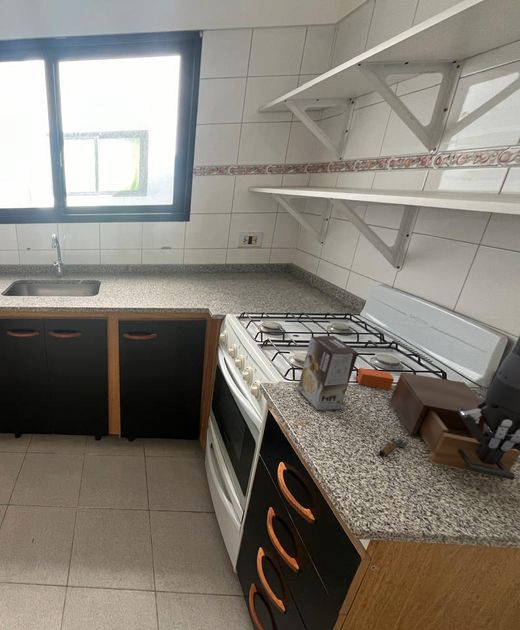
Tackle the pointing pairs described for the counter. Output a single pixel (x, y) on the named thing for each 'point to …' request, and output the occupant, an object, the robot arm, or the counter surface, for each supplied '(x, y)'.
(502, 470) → the drawer
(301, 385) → the coffee box
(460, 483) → the counter surface
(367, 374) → the orange block
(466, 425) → the robot arm
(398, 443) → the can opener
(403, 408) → the cabinet
